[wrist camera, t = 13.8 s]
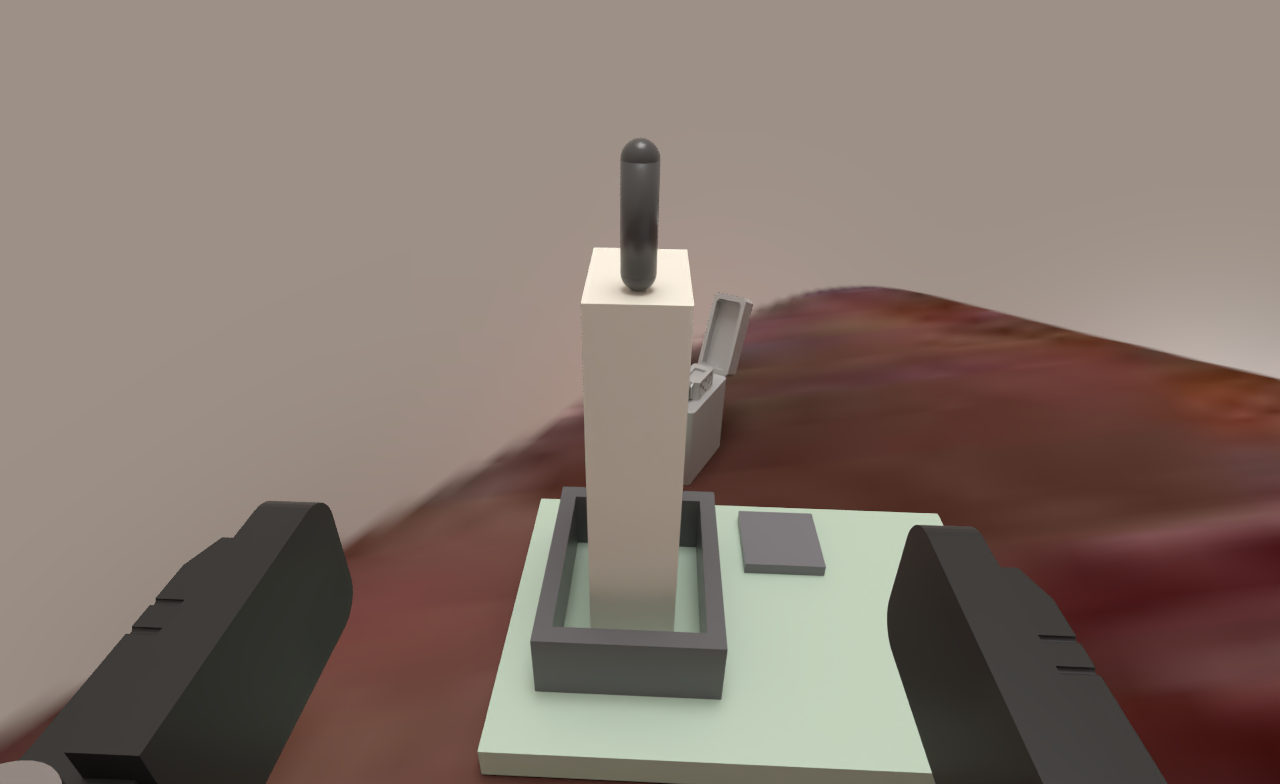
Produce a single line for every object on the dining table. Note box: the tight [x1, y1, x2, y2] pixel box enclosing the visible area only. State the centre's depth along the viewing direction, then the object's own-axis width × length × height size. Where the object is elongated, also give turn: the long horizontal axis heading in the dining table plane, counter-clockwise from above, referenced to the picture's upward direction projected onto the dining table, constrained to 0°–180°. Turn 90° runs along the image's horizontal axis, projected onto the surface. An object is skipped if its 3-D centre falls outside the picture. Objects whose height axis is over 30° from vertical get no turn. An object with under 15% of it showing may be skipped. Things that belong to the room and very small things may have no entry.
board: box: [478, 487, 943, 784], centre depth 25 cm, size 18×12×4 cm, turn 88°
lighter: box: [683, 293, 753, 485], centre depth 35 cm, size 7×2×8 cm, turn 151°
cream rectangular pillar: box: [581, 138, 694, 632], centre depth 22 cm, size 3×4×17 cm, turn 179°
